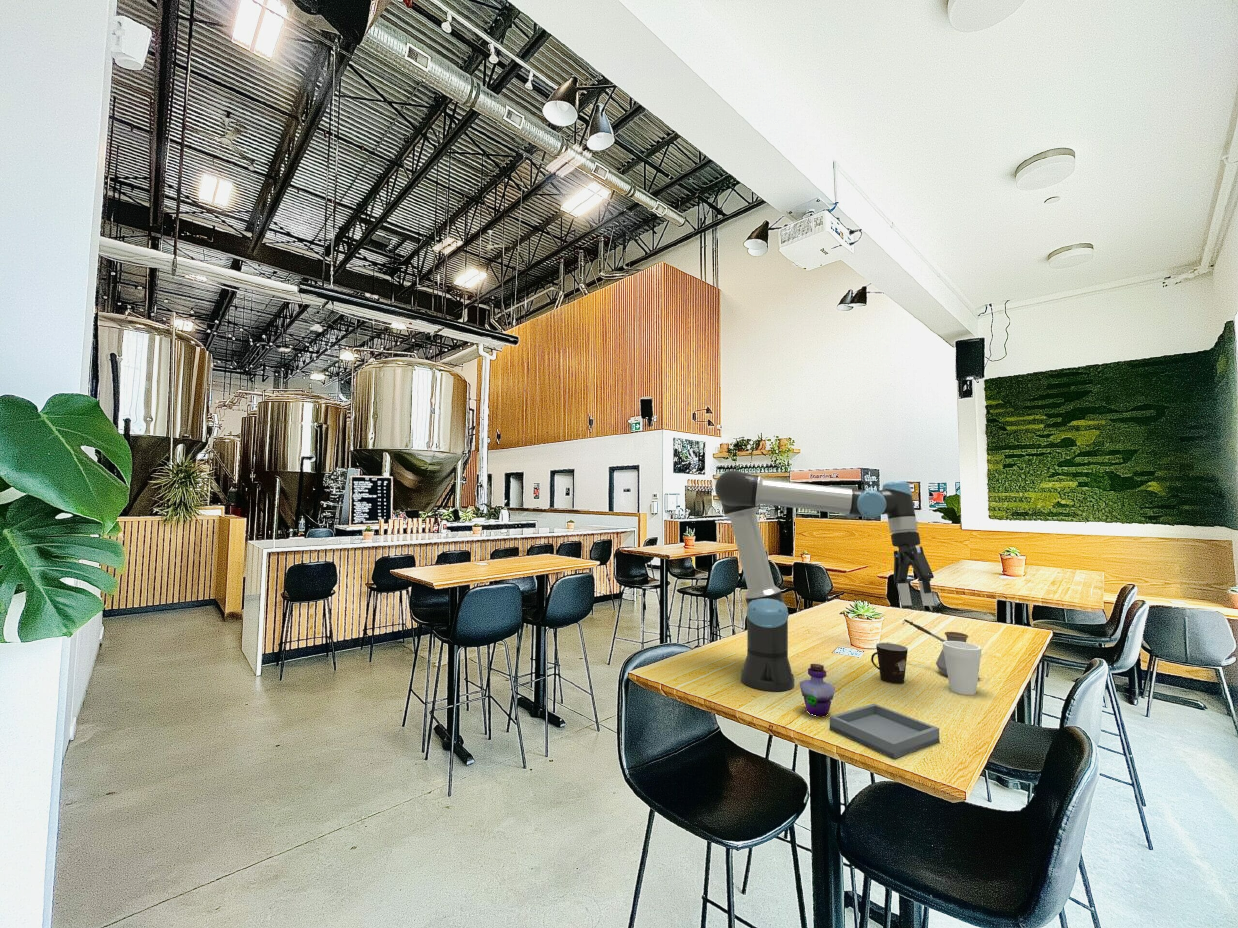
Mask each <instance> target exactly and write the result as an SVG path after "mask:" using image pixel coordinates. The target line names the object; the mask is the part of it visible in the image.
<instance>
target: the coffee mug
mask: <svg viewBox="0 0 1238 928" xmlns="http://www.w3.org/2000/svg"><path fill="white" fill-rule="evenodd" d="M875 647H876V652H874V653H872V655H871V658H870V661H871V663H872V665H873V666H874V667H875V668H876V669H877V670H879V678H880V680H881V681H883V682H886V683H889V684H894V685H895V684H896V685H901V684H904V683H905V677H906V669H907V668H906V667H907V660H908V651H909V648H908V647H907V646H905V645H902V644H897V643H892V642H878V643H876V644H875ZM876 655H877V661H878V662H877V663H878V666H877V665H876V663H875V661H874V658H875V656H876Z"/></svg>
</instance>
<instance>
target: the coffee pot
mask: <svg viewBox="0 0 1238 928" xmlns="http://www.w3.org/2000/svg"><path fill="white" fill-rule="evenodd" d="M905 622H906V623H907V624H909V625H910V626H913V628H915V629H917V630H919V631H920V632H923V633H925V634H927V635H929V636H931V637H933V638H935V639H936V640H938V641H940V642H942V643H943V642H944V641H959V642H966V643H967V639H968V638H969V637H970V636H969V634H966V633H962V632H959V631H958V632H957V631H945V632H944V636H945V637H946V639H944V638H942V637H940V636H938V635H936V634H934V633H932V632H931V631H929V630H927V629H925V628H924V627H923V626H921V625H919V624H916V623H914V622H913V621H909V620H908V619H905V618H904V619H903V621H902V623H901V625H904V624H905ZM935 665H936V667H937V669H938V670H939V671H940V672H941V673H942V674H943V675H944V676H946V677H948V674H947V668H946V662H945V656H944V652H943V648H942V650H941V652H940V653H939V655H938V658H937V660H936V662H935Z"/></svg>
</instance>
